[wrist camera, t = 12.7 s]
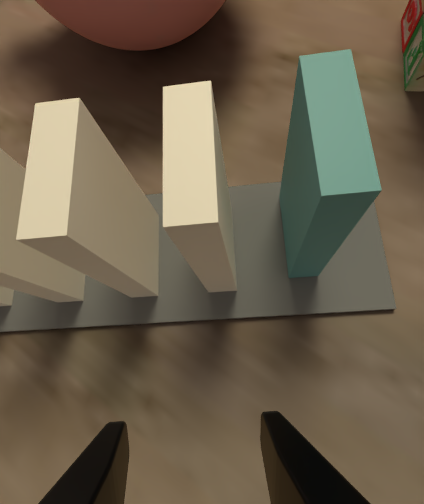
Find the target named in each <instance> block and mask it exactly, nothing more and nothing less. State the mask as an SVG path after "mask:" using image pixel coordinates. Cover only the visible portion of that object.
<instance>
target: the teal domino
mask: <svg viewBox="0 0 424 504" xmlns="http://www.w3.org/2000/svg"><path fill="white" fill-rule="evenodd" d="M380 192H381V185H380V181H379V176H378V171H377V167H376V162H375V158H374V153H373V149H372V144H371V139H370V135H369V130H368V126H367V121H366V116H365V112H364V107H363V103H362V98H361V94H360V89H359V84H358V80H357V75H356V71H355V66H354V62H353V57H352V52H351V49H348V50H341V51H333V52H326V53H319V54H311V55H304V56H299V63H298V70H297V77H296V84H295V91H294V98H293V105H292V112H291V119H290V126H289V133H288V139H287V146H286V153H285V160H284V167H283V174H282V181H281V188H280V195H279V198H280V207H281V216H282V224H283V233H284V242H285V251H286V259H287V268H288V277H289V278H296V277H310V276H319V274H320V273H321V272H322V270H323V269H324V267H325V266H326V265H327V263H328V262H329V261H330V259H331V258H332V257H333V255H334V254H335V253H336V251H337V250H338V249H339V247H340V246H341V245H342V243H343V242H344V240H345V239H346V238H347V236H348V235H349V234H350V232H351V231H352V230H353V228H354V227H355V226H356V224H357V223H358V222H359V220H360V219H361V217H362V216H363V215H364V213H365V212H366V211H367V209H368V208H369V207H370V205H371V204H372V203H373V201H374V200H375V199H376V197H377V196H378V195H379V193H380Z"/></svg>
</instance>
